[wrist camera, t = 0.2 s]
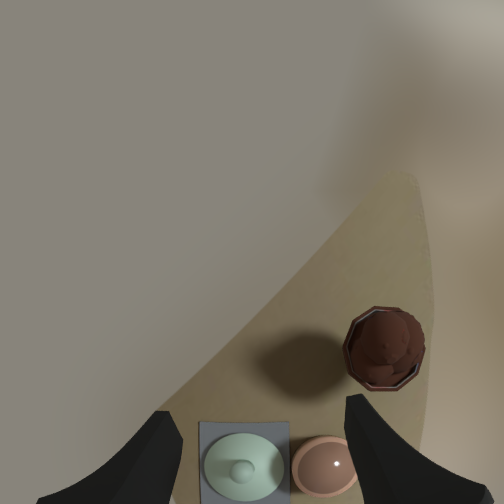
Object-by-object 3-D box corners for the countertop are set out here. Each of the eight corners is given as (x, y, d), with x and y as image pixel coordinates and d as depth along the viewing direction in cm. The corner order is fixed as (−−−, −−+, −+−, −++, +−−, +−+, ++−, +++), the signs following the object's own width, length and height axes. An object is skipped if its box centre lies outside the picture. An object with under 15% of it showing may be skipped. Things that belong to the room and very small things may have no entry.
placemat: (289, 506, 29) (290, 507, 29) (201, 504, 29) (201, 505, 29) (288, 421, 36) (288, 421, 36) (199, 421, 36) (199, 421, 36)
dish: (353, 485, 29) (361, 491, 26) (291, 492, 30) (292, 500, 26) (353, 430, 34) (360, 433, 30) (290, 437, 34) (292, 441, 31)
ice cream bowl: (338, 405, 36) (371, 403, 23) (323, 334, 42) (344, 299, 29) (403, 384, 36) (456, 369, 23) (385, 318, 42) (427, 278, 29)
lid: (284, 499, 29) (285, 508, 26) (206, 497, 30) (199, 505, 26) (283, 432, 35) (284, 434, 31) (205, 431, 35) (197, 434, 32)
